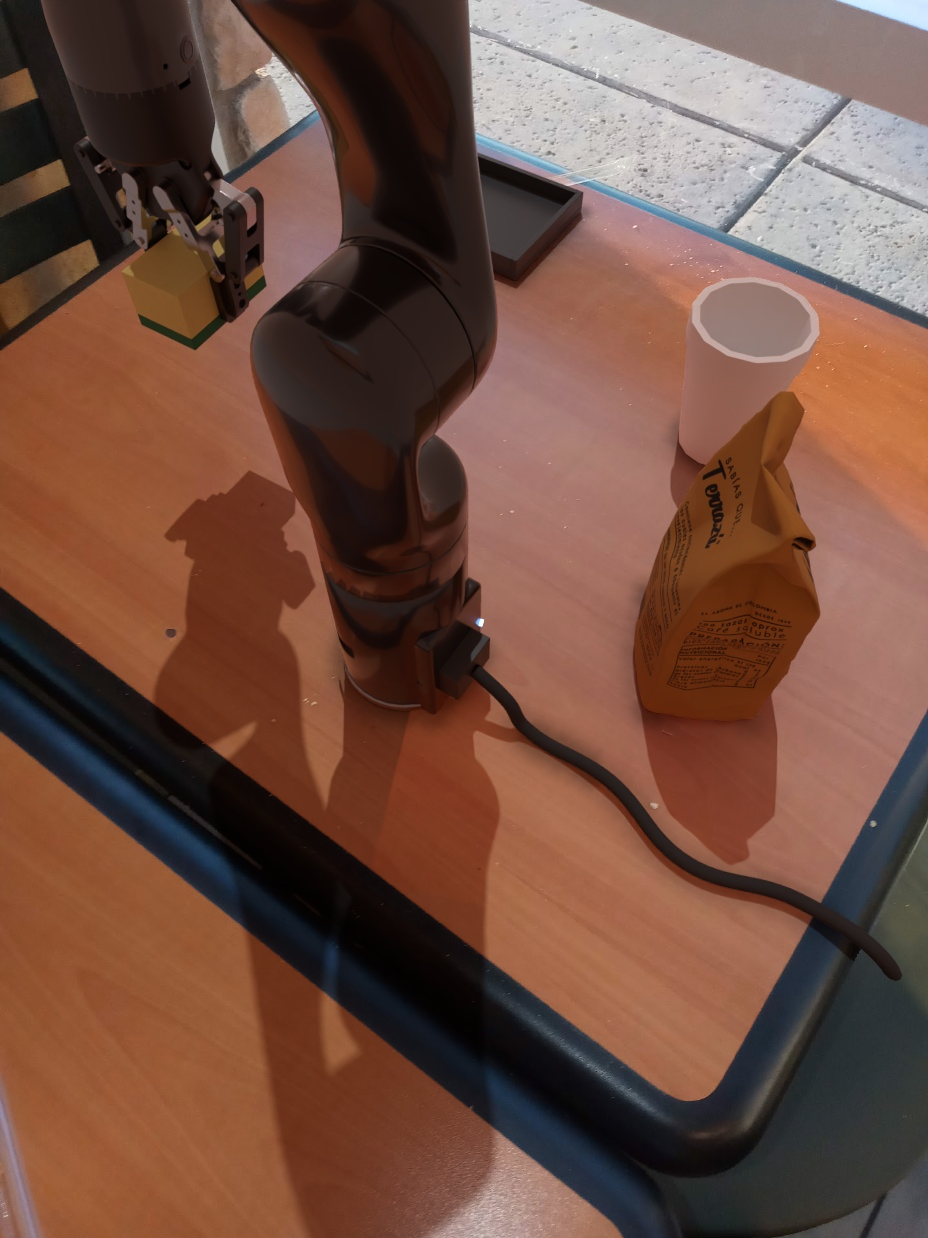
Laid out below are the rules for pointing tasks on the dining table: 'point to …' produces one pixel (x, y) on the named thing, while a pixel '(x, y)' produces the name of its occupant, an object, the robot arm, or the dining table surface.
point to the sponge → (179, 290)
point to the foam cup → (740, 357)
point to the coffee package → (730, 580)
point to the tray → (522, 214)
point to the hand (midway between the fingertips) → (204, 299)
